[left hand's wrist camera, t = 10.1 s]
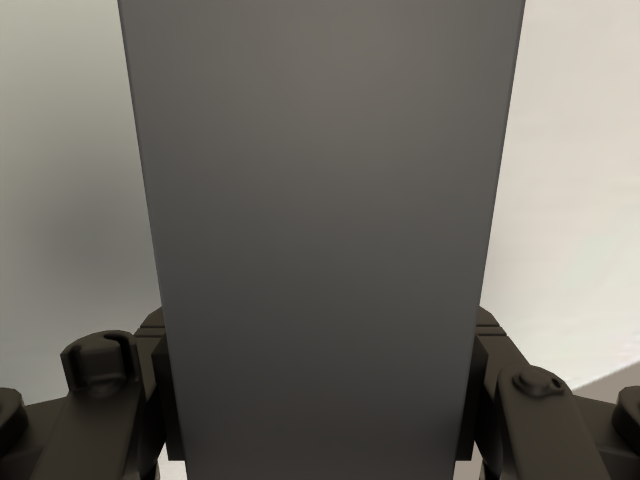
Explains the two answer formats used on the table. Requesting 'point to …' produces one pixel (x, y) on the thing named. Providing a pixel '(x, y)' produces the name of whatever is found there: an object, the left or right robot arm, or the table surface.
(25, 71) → the table surface
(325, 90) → the post
